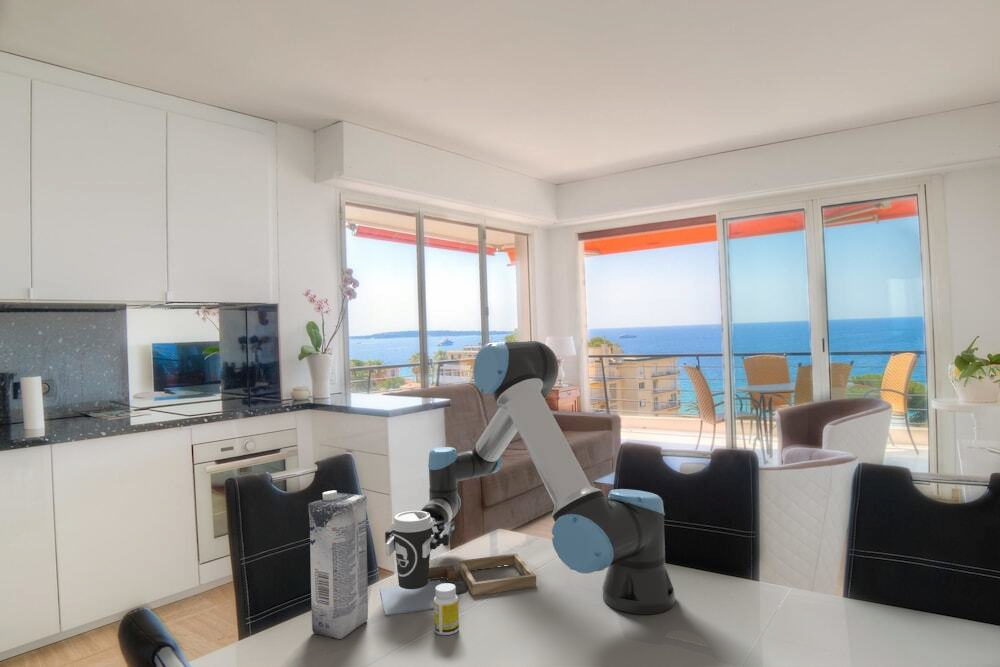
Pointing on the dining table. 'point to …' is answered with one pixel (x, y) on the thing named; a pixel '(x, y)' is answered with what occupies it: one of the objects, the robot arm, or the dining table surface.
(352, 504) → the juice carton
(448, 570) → the walnut crook
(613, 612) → the dining table surface
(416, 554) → the coffee cup
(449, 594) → the supplement bottle
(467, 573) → the wooden square frame
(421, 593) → the slate pad
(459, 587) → the dark grey round disc
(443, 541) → the robot arm
